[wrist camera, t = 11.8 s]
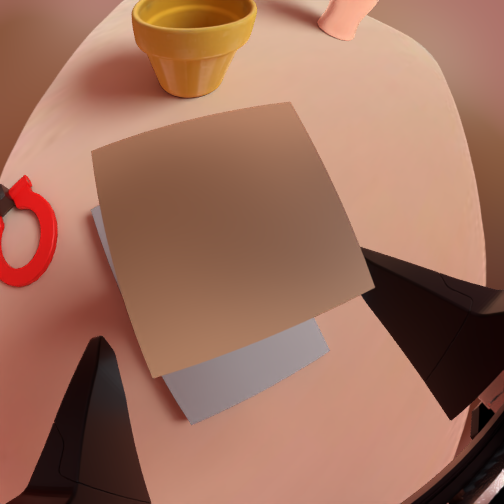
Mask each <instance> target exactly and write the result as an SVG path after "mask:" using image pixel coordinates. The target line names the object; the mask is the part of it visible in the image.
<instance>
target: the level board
mask: <svg viewBox="0 0 504 504" xmlns="http://www.w3.org/2000/svg"><path fill="white" fill-rule="evenodd" d="M91 212H92V215H93V218H94V222H95V225H96V228H97V231H98V234H99V237H100V240H101V243H102V245H103V248H104V251H105V254H106V257H107V259H108V262H109V265H110V267H111V270H112V272H113V275H114V277H115V280H116V282H117V285H118V287H119V283H118V280H117V276H116V273H115V269H114V265H113V262H112V258H111V254H110V250H109V246H108V242H107V238H106V233H105V229H104V224H103V219H102V215H101V210H100V205H99V206H97V207H95V208H93V209H91ZM119 290H120V287H119ZM120 292H121V290H120ZM121 294H122V293H121ZM122 297H123V296H122ZM329 351H330V350H329V348H328V345H327V343H326V341H325V339H324V337H323V335H322V333H321V331H320V329H319V327H318V325H317V323H316V321H315V319H314V318H312V319H309V320H307V321H305V322H303V323H300V324H298V325H296V326H294V327H291V328H289V329H287V330H284V331H282V332H280V333H277V334H275V335H273V336H270V337H268V338H265V339H263V340H260V341H258V342H256V343H253V344H251V345H248V346H245V347H243V348H240V349H238V350H235V351H232V352H230V353H227V354H224V355H222V356H219V357H216V358H214V359H211V360H208V361H205V362H202V363H199V364H197V365H194V366H191V367H188V368H185V369H182V370H179V371H176V372H173V373H169V374H166V375H163V376H162V378H163V379H164V381H165V383H166V385H167V386H168V388H169V390H170V391H171V393H172V395H173V396H174V398H175V400H176V401H177V403H178V405H179V406H180V408H181V410H182V411H183V413H184V414H185V416H186V417H187V419H188V420H189V422H190V424H191V425H193V424H195V423H198V422H200V421H202V420H204V419H207V418H209V417H211V416H213V415H215V414H218V413H220V412H222V411H224V410H226V409H228V408H230V407H232V406H234V405H236V404H238V403H240V402H242V401H244V400H246V399H248V398H250V397H252V396H254V395H256V394H258V393H260V392H262V391H263V390H265V389H267V388H269V387H271V386H273V385H274V384H276V383H278V382H280V381H281V380H283V379H285V378H287V377H288V376H290V375H292V374H294V373H295V372H297V371H299V370H300V369H302V368H304V367H305V366H307V365H308V364H310V363H312V362H313V361H315V360H316V359H318V358H320V357H321V356H323V355H324V354H326V353H327V352H329Z"/></svg>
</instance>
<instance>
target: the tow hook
mask: <svg viewBox="0 0 504 504" xmlns="http://www.w3.org/2000/svg"><path fill="white" fill-rule="evenodd" d="M31 186H32V184H31V181H30V180H29V178H28V177H27V176H26V175H24V176H23V177H22V178H21V179H20V180H19V181H18V182H17V183H16V184H15V185H14V186H12V187H11V188H10V189H8V188H6V187H5V186H3V185H2V184H0V280H1V281H3V282H4V283H6V284H8V285H12V286H17V287H21V286H26V285H30V284H31V283H33V282H35V281H36V280H38V279H39V278H40V276H41V275H42V274H43V273H44V272H45V271H46V269H47V268H48V266H49V264H50V262H51V261H52V258H53V255H54V252H55V249H56V243H57V236H58V234H57V221H56V217H55V213H54V211H53V209H52V207H51V206H50V204H49V202H47V201H46V200H45V199H44V198H43V197H42V196H41V195H39V194H37V193H34V192H32V189H31ZM14 204H15V205H16V207H17V208H19V209H21V210H23V209H30V210H32V211H33V212H34V213H35V214H36V215H37V217H38V219H39V223H40V227H41V237H40V243H39V246H38V249H37V252H36V254H35V255H34V257H33V259H32V260H31V261H30V262H29V263H28V264H27V265H25V266H24V267H22V268H18V269H14V268H12V267H11V266H9V265H8V264H7V262H6V261H5V259H4V257H3V254H2V250H1V238H2V233H3V230H4V222H3V220H2V217H1V216H4V215H5V214H6V213H7V212H8V211H9V210H10V209H11V207H12V206H13V205H14Z"/></svg>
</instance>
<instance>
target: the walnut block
mask: <svg viewBox="0 0 504 504" xmlns="http://www.w3.org/2000/svg"><path fill="white" fill-rule="evenodd" d="M91 153H92V161H93V168H94V175H95V181H96V188H97V193H98V199H99V204H100V210H101V215H102V219H103V224H104V229H105V233H106V238H107V242H108V246H109V250H110V254H111V258H112V262H113V265H114V269H115V273H116V276H117V280H118V283H119V287H120V290H121V293H122V296H123V300H124V303H125V306H126V309H127V312H128V315H129V318H130V321H131V324H132V326H133V329H134V332H135V335H136V338H137V340H138V343H139V346H140V348H141V351H142V353H143V356H144V358H145V361H146V363H147V366H148V368H149V371H150V373H151V375H152V378H157V377H160V376H163V375H166V374H169V373H173V372H176V371H179V370H182V369H185V368H188V367H191V366H194V365H197V364H199V363H202V362H205V361H208V360H211V359H214V358H216V357H219V356H222V355H224V354H227V353H230V352H232V351H235V350H238V349H240V348H243V347H245V346H248V345H251V344H253V343H256V342H258V341H260V340H263V339H265V338H268V337H270V336H273V335H275V334H277V333H280V332H282V331H284V330H287V329H289V328H291V327H294V326H296V325H298V324H300V323H303V322H305V321H307V320H309V319H312V318H314V317H316V316H318V315H320V314H322V313H325V312H327V311H329V310H331V309H333V308H335V307H337V306H339V305H341V304H343V303H345V302H347V301H349V300H351V299H353V298H355V297H357V296H359V295H361V294H363V293H365V292H367V291H369V290H371V289H373V288H375V286H374V283H373V280H372V278H371V275H370V272H369V269H368V267H367V264H366V261H365V259H364V256H363V253H362V251H361V248H360V246H359V243H358V241H357V238H356V236H355V233H354V231H353V228H352V226H351V224H350V221H349V219H348V217H347V214H346V212H345V210H344V207H343V205H342V203H341V201H340V198H339V196H338V194H337V192H336V189H335V187H334V185H333V183H332V181H331V179H330V177H329V175H328V172H327V170H326V168H325V166H324V164H323V162H322V160H321V158H320V156H319V154H318V152H317V150H316V148H315V146H314V144H313V143H312V141H311V139H310V137H309V135H308V133H307V131H306V129H305V127H304V126H303V124H302V122H301V120H300V118H299V116H298V115H297V113H296V111H295V109H294V108H293V106H292V104H291V102H285V103H277V104H270V105H263V106H256V107H250V108H244V109H238V110H233V111H228V112H223V113H218V114H213V115H209V116H204V117H200V118H195V119H191V120H187V121H183V122H179V123H176V124H172V125H168V126H165V127H161V128H158V129H154V130H151V131H148V132H144V133H141V134H138V135H135V136H132V137H129V138H126V139H123V140H120V141H117V142H114V143H111V144H109V145H106V146H103V147H101V148H98V149H95V150H93V151H91Z"/></svg>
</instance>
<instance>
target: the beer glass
mask: <svg viewBox="0 0 504 504" xmlns="http://www.w3.org/2000/svg"><path fill="white" fill-rule="evenodd" d="M379 1H380V0H330V2H329V4H328V7H327V9H326V10H325V12H324V13H323V14H322V16H321V17H320V18H319V20H318V22H317V24H318V26H319V27H320V28H321V29H322V30H323V31H324V32H325V33H327V34H329V35H330V36H332V37H335V38H337V39H340V40H345V41H350V40H352V39H353V38H354V36H355V33H356V30H357V27H358V25H359V23H360V22H361V20H362V19H363V18H364V17H365V16H366V15H367V14H368V12H369V11H371V9H372V8H373V7H374V6H375V5H376V4H377V3H378V2H379Z"/></svg>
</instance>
